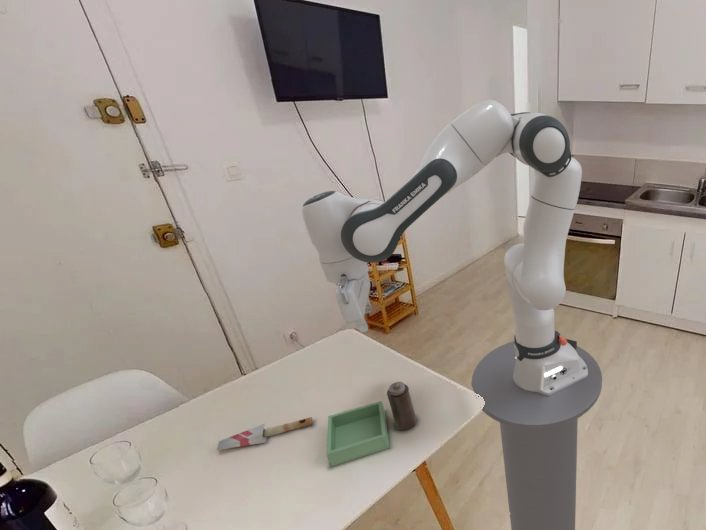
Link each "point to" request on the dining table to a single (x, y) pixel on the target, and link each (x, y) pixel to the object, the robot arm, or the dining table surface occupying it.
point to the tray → (356, 433)
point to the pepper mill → (401, 406)
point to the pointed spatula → (260, 434)
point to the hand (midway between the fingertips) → (366, 320)
